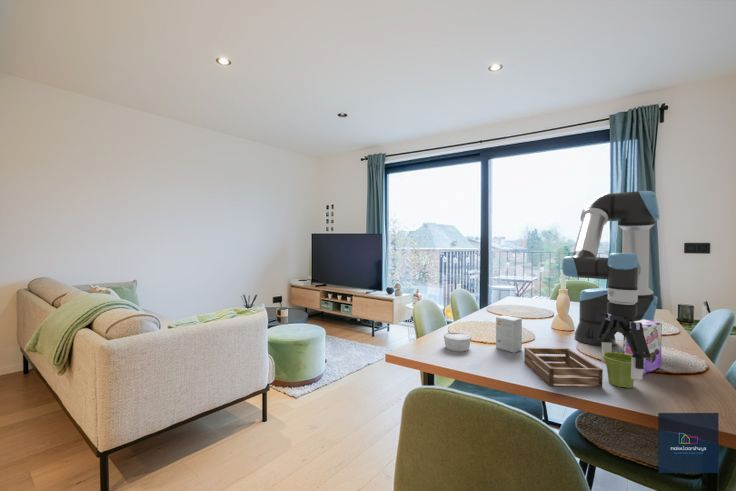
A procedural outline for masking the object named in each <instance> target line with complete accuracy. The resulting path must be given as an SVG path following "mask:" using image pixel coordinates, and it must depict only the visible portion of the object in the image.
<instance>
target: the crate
mask: <svg viewBox="0 0 736 491" xmlns="http://www.w3.org/2000/svg"><path fill="white" fill-rule="evenodd" d="M523 350H524V354H523V355H524V356H523V358H524V359H523V363H524V365H526V366H528V367H529V369H531V370H532V371H533V372H534V373H535V374H536V375H537V376H539V378H540V379H541V380H543V382H544V383H546V384H547V385H548V386H549V387H556V386H560V387H559V388H561V387H562V386H563V387H564V388H601V389H602V388H603V379H604V378H603V372H604V370H603V369H602V368H601V367H599V366H598V365H596V364H595V363H593V362H591V361H590V360H588V359H587V358H584V357H583V356H581V355H580V354H578V353H576V351H573V350H572V349H570V348H569V347H567V348H566V347H564V348H563V347H524V349H523ZM563 387H562V388H563Z"/></svg>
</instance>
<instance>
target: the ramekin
mask: <svg viewBox="0 0 736 491" xmlns="http://www.w3.org/2000/svg"><path fill="white" fill-rule="evenodd" d="M443 338H444V346H445V348H446V349H447V350H448V351H452V352H457V353H459V352H460V353H461V352H467V351H469V349H470V347H471V346H470V345H471V341H472V336H471V335H470V334H467V333H463V332H446V333H444V334H443Z"/></svg>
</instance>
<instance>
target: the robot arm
mask: <svg viewBox="0 0 736 491" xmlns="http://www.w3.org/2000/svg"><path fill="white" fill-rule="evenodd" d="M658 205H659V203H658V199H657V194H656V193H655V191H652V190H637V191H626V192H609V193H605V194H601V195H599V196H597V197H595V198H594V199H592V200H591V201H590V202H588V203H587V205H585V207H584V208H583V209H582V211H581V214H580V221H581V224H580V228H579V230H578V234H577V237H576V242H575V244H574V248H573V252H572V255H568V256H564V257H563V259H562V263H561V269H562V270H561V271H562V274H563V275H564V276H565V277H570V278H577V279H578V278H582V279H598V280H607V287H606V288H605V287H600V288H599V287H597V288H586V289H582V290H581V291H580V292H579V300H578V301H579V321H578V323H577V326H576V329H575V331H574V339H575V340H576V341H578V342H580V343H583V344H584V343H585V344H588V345H593V346H599V345H601V346H600V347H601V348H600V349H601V363H606V361H605V358H604V357H603V353H606V352H613V350H612V347H613V346H614V345H615V346H616V344H617V343H616V336H615V335H616V334H617V333H620V334H621V335H622V336H623V337H624V336H625V338H626V340H627V342H628V344H629V346H630V348H631V351H632V353H633V355H632V356H631V378H632V379H634V380H643V378H644V377H643V368H644V358H650V352H649V349H648V346H647V343H646V340H645V337H644V333H643V329H642V323H637V322H635V321H639V320H642V319H644V320H650V321H654V320H655V315H656V312H657V305H658V300H659V298H658V296H656V295H654V291H653V290H652V289H651V288H650V287H649V285H650V284H649V281H650V280H649V278H650V277H649V276H650V274H649V272H650V269H649V268H650V229H651V228H652V227H654V226H655V221H656V222H657V221H658V220H660V212H659V206H658ZM608 222H617V226H618V227H619V228H620V229H621V230H622V234H621V236H622V237H621V240H622V243H621V244H622V245H621V246H622V247H621V250H622V252H611V253H609V254H608V257H601V256H600V257H599V256H597V255H598V252H599V248H600V245H601V240H602V234H603V230H604V226H605V225H606V224H607V223H608ZM630 331H631V332H630ZM637 352H638V353H637ZM644 352H645V353H644Z"/></svg>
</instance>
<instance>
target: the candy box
mask: <svg viewBox="0 0 736 491" xmlns="http://www.w3.org/2000/svg"><path fill="white" fill-rule="evenodd" d="M635 322H637V323H642V329H643V333H644V337H645V340H646V343H647V346H648V349H649V352H650V358H644V368H643V375H646V374H649V373H652V372H654V371H656V370H655V369H657V368H660V367H661V368H662V337H663V336H662V334H663V333H662V330H663V323H662V322H659V321H656V320H655V321H654V320H653V321H650V320H644V319H642V320H639V321H635ZM630 332H631V331H630ZM622 342H623V346H622V347H623V348H622V349H623V352H622V353H623V354H628V355H631V356H632V355H633V353H632V351H631V348H630V346H629V344H628V342H627V340H626V338H625V336H623V341H622ZM637 353H638V352H637ZM644 353H645V352H644ZM661 368H660V369H661ZM653 370H654V371H653ZM657 370H658V369H657Z"/></svg>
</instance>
